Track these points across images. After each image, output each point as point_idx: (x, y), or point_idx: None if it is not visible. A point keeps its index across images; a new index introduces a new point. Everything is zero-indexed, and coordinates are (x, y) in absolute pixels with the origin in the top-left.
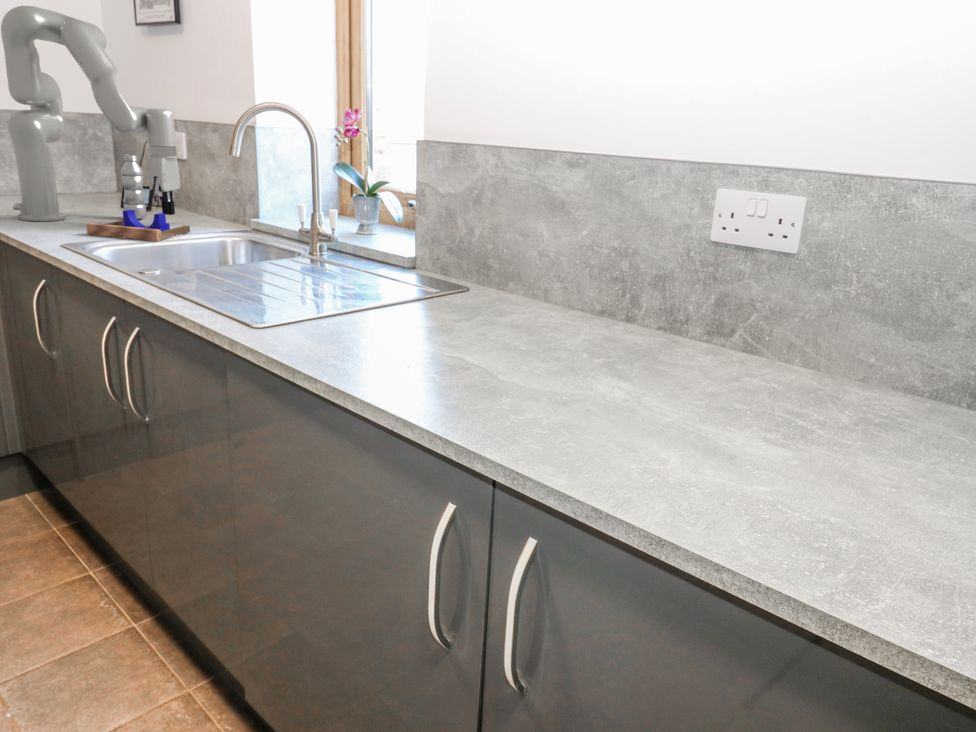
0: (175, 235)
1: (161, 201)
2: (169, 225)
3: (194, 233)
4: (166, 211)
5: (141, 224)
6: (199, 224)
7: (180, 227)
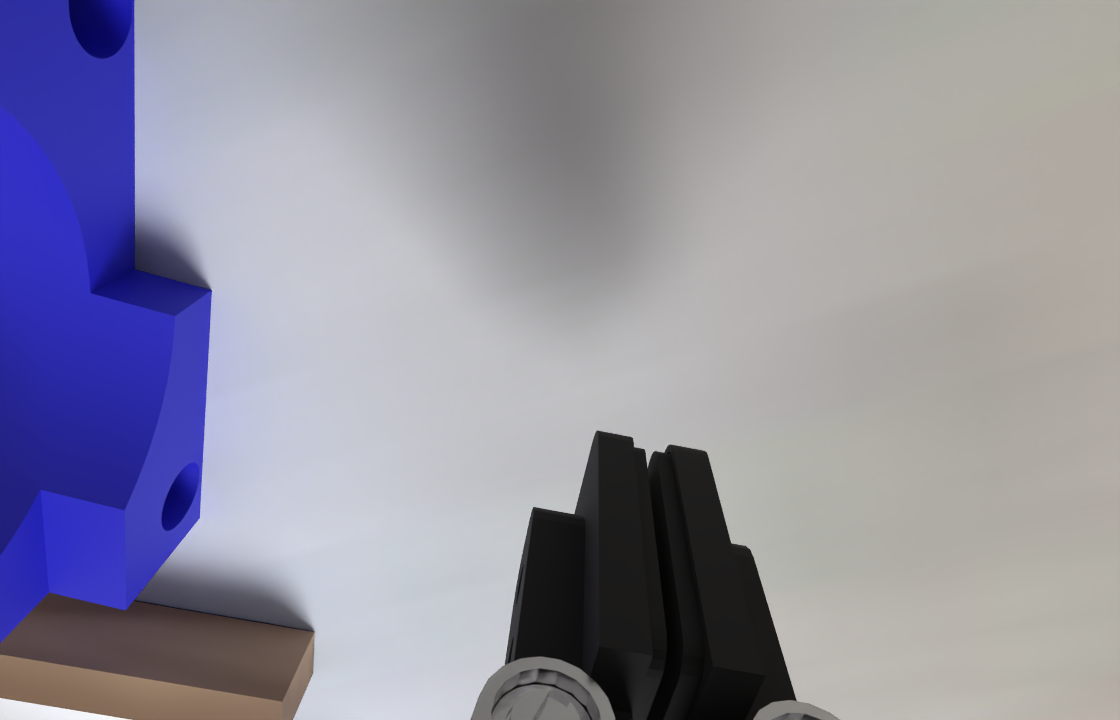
0: None
1: (601, 637)
2: (144, 585)
3: (300, 707)
4: (522, 558)
5: (43, 174)
6: (944, 627)
7: (124, 697)
